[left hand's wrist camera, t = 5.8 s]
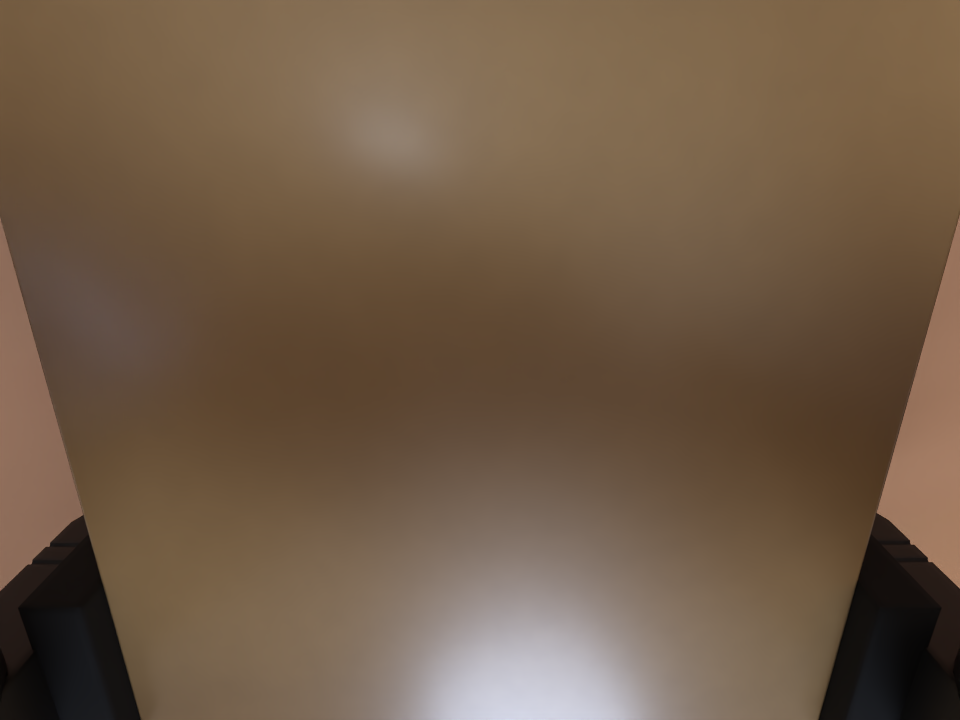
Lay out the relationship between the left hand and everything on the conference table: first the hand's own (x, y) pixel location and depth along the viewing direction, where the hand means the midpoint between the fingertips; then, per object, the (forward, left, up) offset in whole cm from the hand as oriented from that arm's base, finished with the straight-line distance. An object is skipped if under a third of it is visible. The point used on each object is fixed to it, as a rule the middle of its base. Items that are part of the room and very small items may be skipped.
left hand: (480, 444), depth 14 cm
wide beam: (-18, +8, 0) cm, 19 cm away
